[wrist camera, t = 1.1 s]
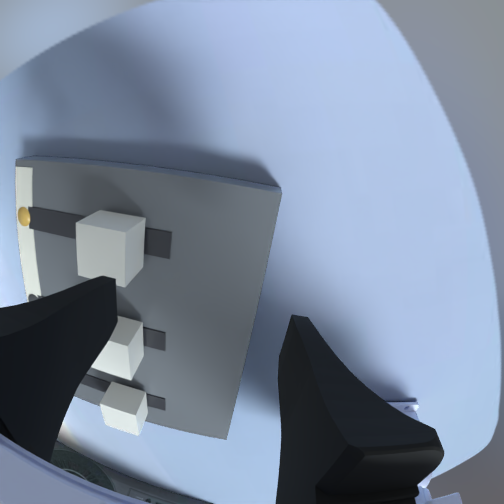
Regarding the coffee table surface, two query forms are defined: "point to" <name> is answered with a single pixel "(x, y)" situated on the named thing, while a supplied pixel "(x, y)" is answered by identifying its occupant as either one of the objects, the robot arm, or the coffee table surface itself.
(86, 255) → the switch tab
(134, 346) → the white cube
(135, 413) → the switch tab
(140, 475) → the coffee table surface
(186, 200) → the switch board
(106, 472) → the cassette player
